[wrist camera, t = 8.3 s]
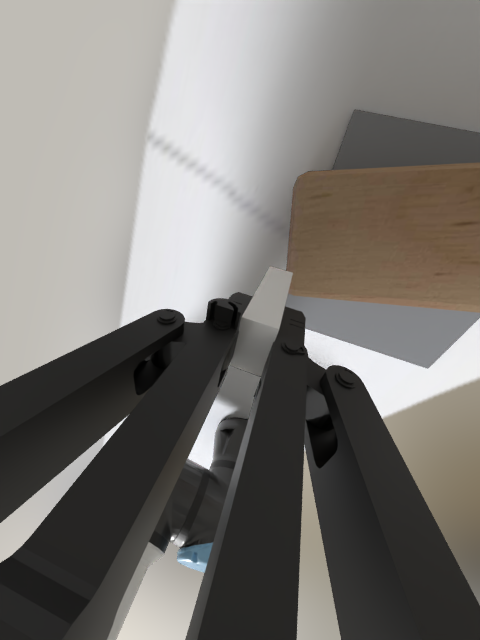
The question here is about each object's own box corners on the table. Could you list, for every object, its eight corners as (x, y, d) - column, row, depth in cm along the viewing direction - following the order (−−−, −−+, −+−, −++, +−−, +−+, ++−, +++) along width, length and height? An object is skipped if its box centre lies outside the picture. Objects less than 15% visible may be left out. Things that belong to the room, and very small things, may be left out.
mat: (426, 366, 31) (428, 368, 31) (278, 318, 34) (278, 319, 33) (630, 162, 17) (637, 162, 17) (353, 111, 20) (354, 109, 20)
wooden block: (283, 298, 21) (566, 326, 15) (293, 171, 15) (727, 148, 10) (292, 266, 29) (479, 277, 24) (300, 176, 23) (544, 164, 18)
